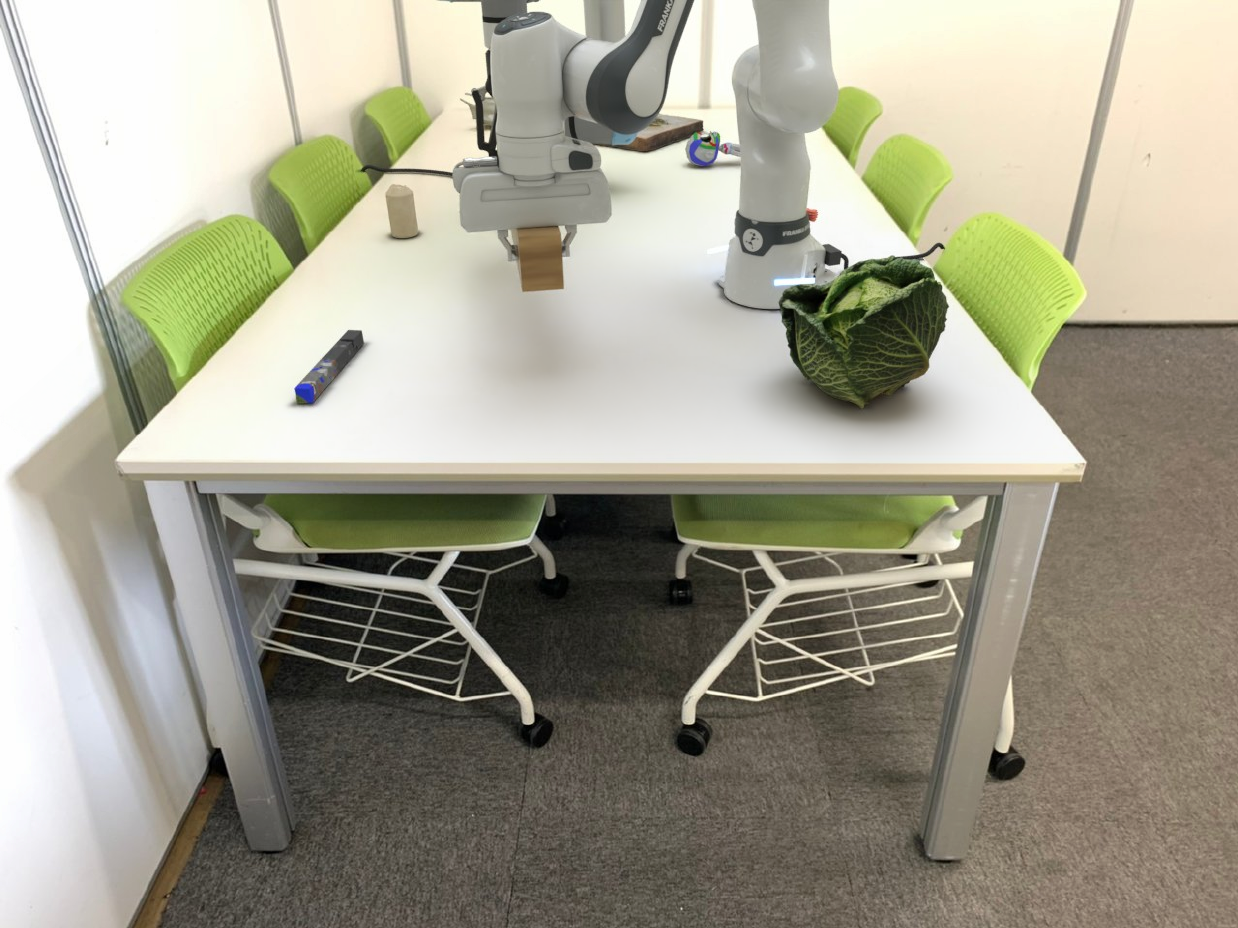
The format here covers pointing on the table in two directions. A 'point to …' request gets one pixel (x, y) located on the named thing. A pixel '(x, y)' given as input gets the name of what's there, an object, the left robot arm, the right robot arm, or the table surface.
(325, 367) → the pillar
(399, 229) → the candle
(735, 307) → the table surface
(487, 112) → the anatomical model
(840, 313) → the vegetable
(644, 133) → the plaque
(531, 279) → the beam
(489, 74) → the left robot arm
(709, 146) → the toy
